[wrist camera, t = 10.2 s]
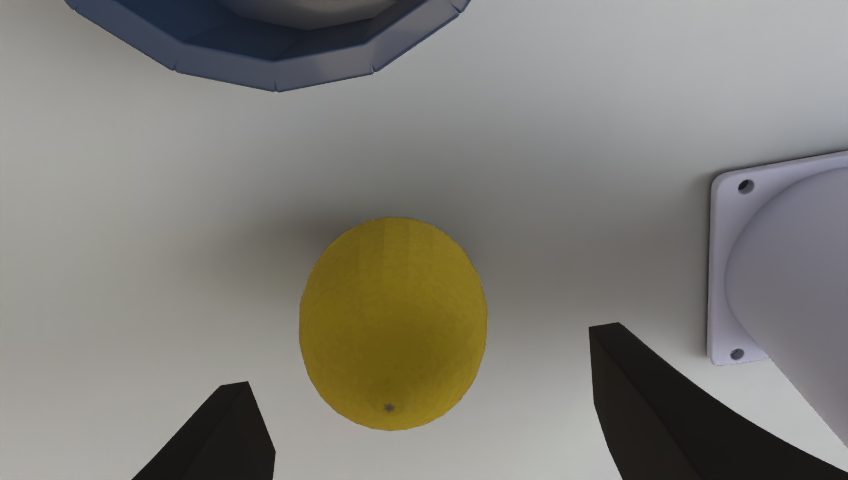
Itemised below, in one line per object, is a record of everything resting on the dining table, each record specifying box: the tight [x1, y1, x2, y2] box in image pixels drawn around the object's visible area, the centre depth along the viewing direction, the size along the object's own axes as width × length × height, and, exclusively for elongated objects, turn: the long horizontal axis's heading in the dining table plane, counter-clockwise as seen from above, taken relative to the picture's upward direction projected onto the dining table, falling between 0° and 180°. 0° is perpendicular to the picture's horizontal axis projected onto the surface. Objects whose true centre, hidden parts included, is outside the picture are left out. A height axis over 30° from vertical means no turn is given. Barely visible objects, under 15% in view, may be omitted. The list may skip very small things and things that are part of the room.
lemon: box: [299, 217, 487, 431], centre depth 18 cm, size 6×6×8 cm
